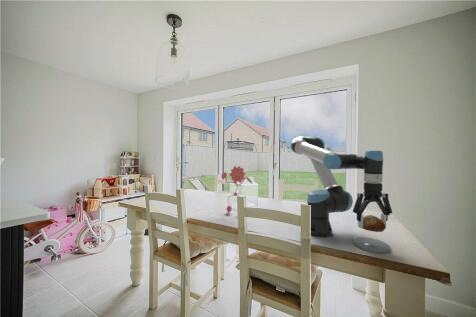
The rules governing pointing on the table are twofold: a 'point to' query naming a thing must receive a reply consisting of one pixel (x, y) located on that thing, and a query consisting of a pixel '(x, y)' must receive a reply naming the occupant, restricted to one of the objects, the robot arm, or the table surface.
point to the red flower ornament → (235, 180)
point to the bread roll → (373, 224)
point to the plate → (371, 245)
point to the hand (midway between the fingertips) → (371, 227)
